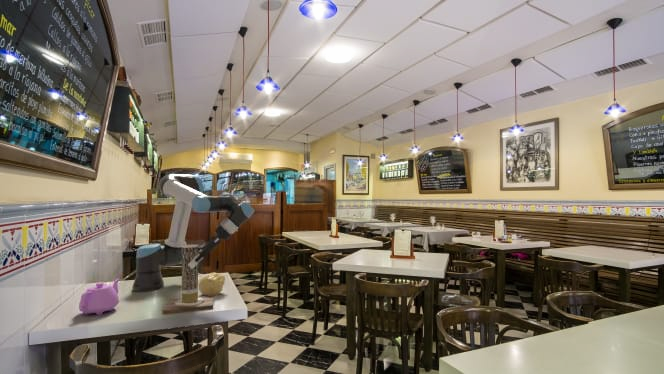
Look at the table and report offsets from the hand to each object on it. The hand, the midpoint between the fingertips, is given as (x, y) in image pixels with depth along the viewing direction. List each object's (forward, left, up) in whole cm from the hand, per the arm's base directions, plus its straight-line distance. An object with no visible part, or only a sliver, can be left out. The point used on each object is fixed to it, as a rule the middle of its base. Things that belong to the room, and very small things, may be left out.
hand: (191, 264), depth 153 cm
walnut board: (0, -1, -19) cm, 19 cm away
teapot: (-6, -37, -19) cm, 42 cm away
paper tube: (-1, -1, -17) cm, 17 cm away
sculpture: (-17, +8, -19) cm, 27 cm away
